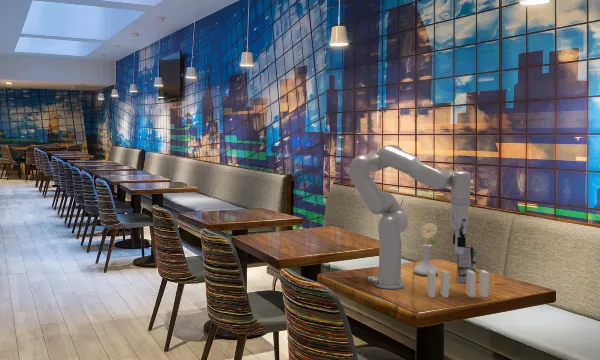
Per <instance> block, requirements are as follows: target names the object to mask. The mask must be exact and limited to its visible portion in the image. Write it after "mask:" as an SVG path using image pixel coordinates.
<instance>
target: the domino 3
mask: <svg viewBox="0 0 600 360" xmlns="http://www.w3.org/2000/svg"><path fill="white" fill-rule="evenodd" d="M460 229H463V228H460ZM460 233H461V231H460ZM454 235H455V244H454V253H456V254H457V253H458V254H463V250H464V247H458V246H457V238H458V230H455V234H454Z"/></svg>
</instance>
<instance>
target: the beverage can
mask: <svg viewBox="0 0 600 360" xmlns="http://www.w3.org/2000/svg"><path fill="white" fill-rule="evenodd" d="M472 271H473V272H475V273H476V272H477V250H476V248H474V247H473V270H472Z"/></svg>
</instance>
